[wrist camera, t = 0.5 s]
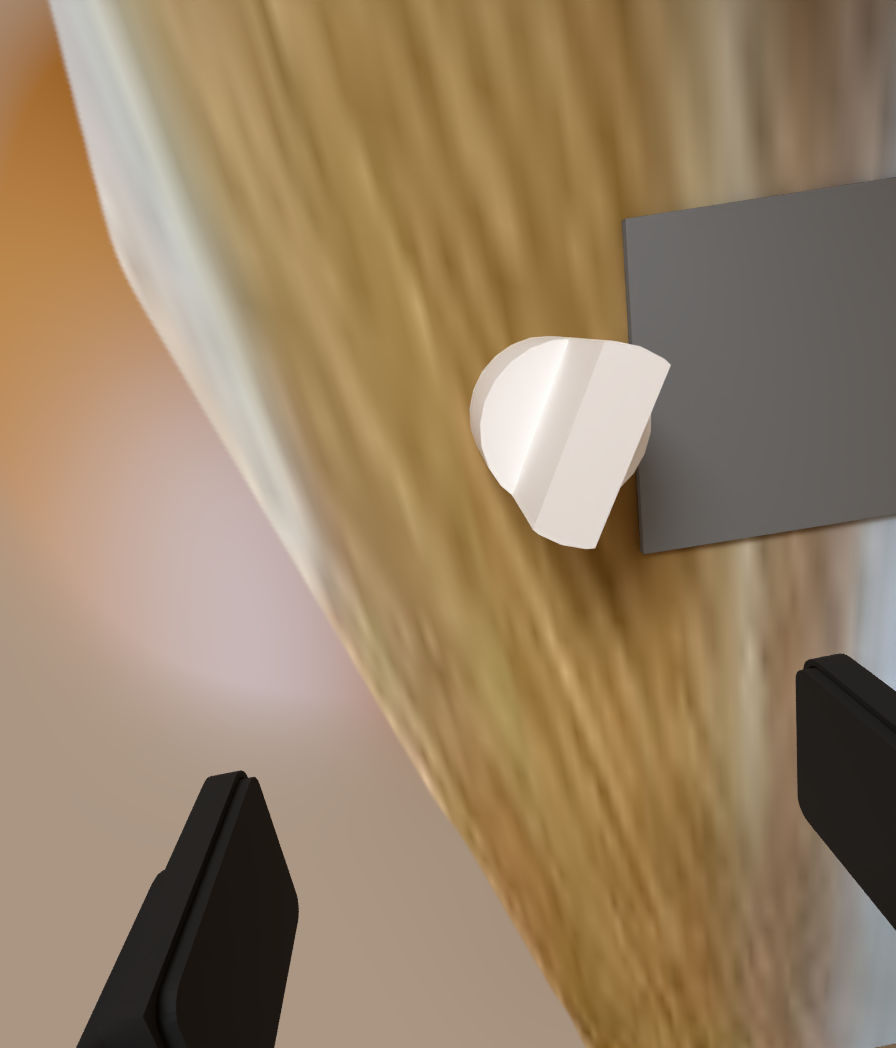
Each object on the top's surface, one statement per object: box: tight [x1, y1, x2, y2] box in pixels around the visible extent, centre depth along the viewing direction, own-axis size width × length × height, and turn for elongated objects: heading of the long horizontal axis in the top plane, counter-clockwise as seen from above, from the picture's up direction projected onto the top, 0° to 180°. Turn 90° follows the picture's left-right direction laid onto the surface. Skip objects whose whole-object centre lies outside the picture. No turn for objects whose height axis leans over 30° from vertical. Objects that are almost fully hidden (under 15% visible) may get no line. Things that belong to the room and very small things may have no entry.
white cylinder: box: [470, 336, 671, 549], centre depth 33 cm, size 9×9×12 cm
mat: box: [622, 177, 896, 554], centre depth 38 cm, size 20×20×1 cm
